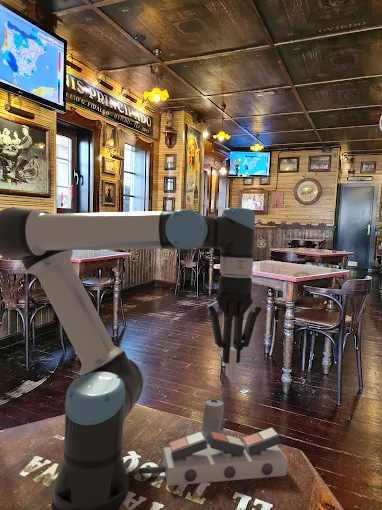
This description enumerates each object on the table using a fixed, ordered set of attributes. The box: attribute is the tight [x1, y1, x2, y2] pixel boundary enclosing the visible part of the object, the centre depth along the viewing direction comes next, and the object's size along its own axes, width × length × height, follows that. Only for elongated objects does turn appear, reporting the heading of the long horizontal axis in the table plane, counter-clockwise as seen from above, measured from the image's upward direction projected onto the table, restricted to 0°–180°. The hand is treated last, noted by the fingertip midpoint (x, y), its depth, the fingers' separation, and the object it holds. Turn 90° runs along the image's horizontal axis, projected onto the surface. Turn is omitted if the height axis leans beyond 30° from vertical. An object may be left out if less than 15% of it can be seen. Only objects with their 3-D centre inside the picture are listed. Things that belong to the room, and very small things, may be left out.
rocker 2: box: [207, 431, 245, 456], centre depth 87 cm, size 8×4×2 cm, turn 101°
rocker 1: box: [168, 430, 207, 460], centre depth 85 cm, size 8×4×2 cm, turn 103°
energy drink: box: [201, 397, 225, 445], centre depth 96 cm, size 5×5×12 cm
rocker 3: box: [242, 426, 282, 455], centre depth 89 cm, size 8×4×2 cm, turn 103°
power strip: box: [138, 441, 288, 487], centre depth 87 cm, size 34×8×5 cm, turn 102°
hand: (230, 376), depth 87 cm, fingers closed
